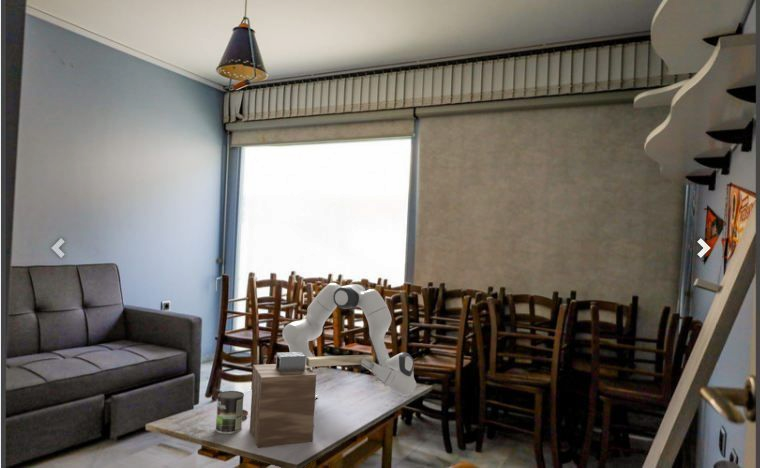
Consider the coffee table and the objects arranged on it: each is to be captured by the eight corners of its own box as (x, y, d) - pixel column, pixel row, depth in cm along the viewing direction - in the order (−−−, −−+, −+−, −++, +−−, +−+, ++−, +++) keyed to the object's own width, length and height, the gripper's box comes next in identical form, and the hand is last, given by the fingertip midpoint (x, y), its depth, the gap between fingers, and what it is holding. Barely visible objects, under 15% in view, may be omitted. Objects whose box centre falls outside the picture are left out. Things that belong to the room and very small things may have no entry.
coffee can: (223, 436, 194) (225, 399, 194) (211, 428, 201) (213, 393, 202) (246, 430, 201) (248, 395, 202) (234, 423, 209) (236, 389, 209)
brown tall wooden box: (249, 429, 203) (253, 365, 203) (300, 424, 211) (303, 362, 212) (257, 448, 184) (261, 377, 185) (312, 442, 192) (316, 374, 193)
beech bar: (306, 364, 204) (306, 357, 204) (369, 361, 215) (369, 354, 215) (308, 366, 200) (309, 359, 200) (372, 363, 211) (373, 356, 211)
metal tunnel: (275, 367, 201) (276, 352, 201) (300, 366, 205) (300, 351, 205) (279, 372, 194) (280, 356, 194) (304, 371, 198) (305, 355, 198)
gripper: (378, 361, 225) (354, 347, 221) (397, 372, 207) (371, 357, 202) (371, 374, 224) (347, 359, 220) (389, 386, 205) (363, 371, 201)
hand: (358, 358), depth 211 cm, fingers closed on beech bar, 4 cm apart
